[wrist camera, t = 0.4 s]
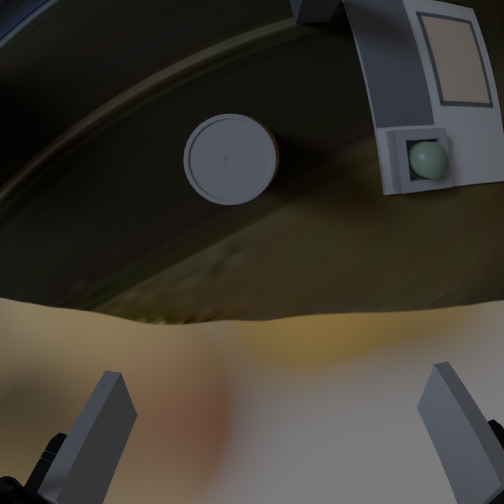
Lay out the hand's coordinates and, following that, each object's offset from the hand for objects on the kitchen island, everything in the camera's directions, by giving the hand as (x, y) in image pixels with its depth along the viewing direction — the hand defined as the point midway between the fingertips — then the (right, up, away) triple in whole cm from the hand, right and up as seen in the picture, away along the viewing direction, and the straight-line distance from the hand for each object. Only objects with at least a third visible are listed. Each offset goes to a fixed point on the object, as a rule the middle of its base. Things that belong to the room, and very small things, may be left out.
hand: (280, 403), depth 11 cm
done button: (+18, +17, +19) cm, 31 cm away
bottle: (-2, +17, +23) cm, 28 cm away
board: (+22, +27, +18) cm, 39 cm away
